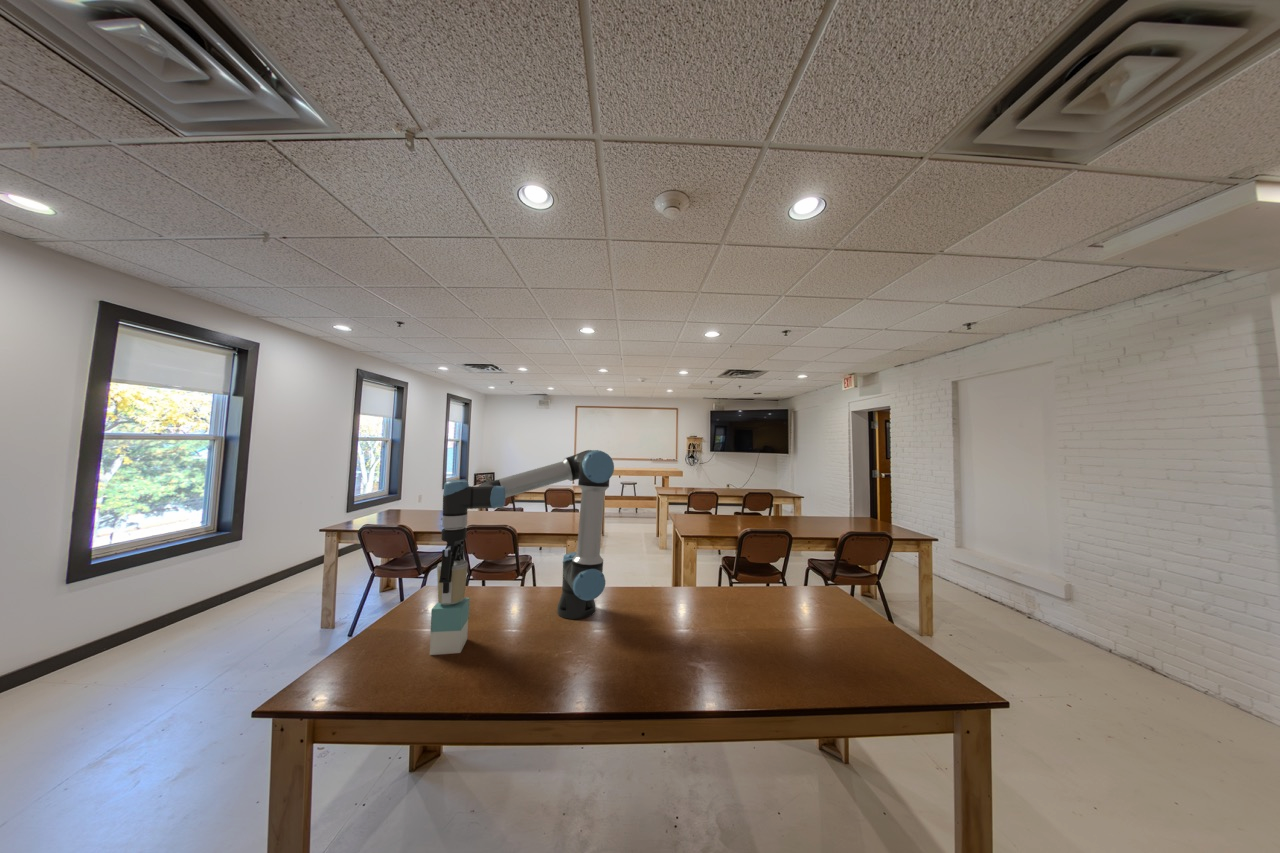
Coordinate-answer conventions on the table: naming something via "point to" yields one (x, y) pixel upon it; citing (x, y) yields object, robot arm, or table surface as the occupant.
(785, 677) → the table surface
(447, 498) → the robot arm
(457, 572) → the coffee cup
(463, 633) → the cream block
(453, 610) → the teal block
